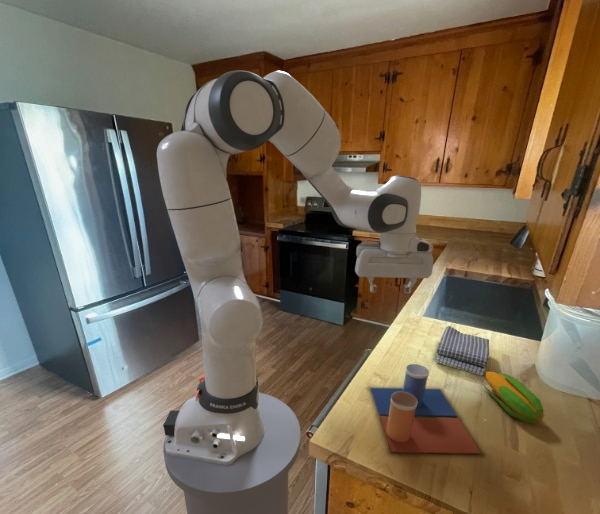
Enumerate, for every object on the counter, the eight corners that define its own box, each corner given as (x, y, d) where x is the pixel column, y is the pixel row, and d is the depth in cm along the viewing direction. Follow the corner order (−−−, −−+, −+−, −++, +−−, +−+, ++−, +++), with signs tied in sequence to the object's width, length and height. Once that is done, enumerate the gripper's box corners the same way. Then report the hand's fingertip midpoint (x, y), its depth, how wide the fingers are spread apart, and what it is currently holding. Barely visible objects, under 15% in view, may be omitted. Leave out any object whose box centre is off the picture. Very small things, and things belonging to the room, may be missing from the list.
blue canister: (404, 407, 87) (409, 376, 83) (398, 394, 92) (403, 363, 88) (425, 408, 87) (432, 376, 83) (418, 394, 92) (424, 363, 88)
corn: (531, 405, 77) (478, 360, 96) (520, 431, 80) (470, 382, 98) (558, 405, 78) (500, 360, 97) (546, 430, 81) (492, 382, 100)
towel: (432, 365, 107) (437, 344, 104) (440, 341, 122) (444, 322, 119) (485, 379, 100) (491, 357, 97) (486, 352, 115) (491, 332, 112)
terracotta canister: (389, 442, 76) (394, 407, 72) (383, 424, 81) (388, 391, 77) (414, 443, 76) (421, 408, 72) (406, 424, 81) (412, 391, 77)
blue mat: (379, 415, 84) (379, 414, 84) (370, 388, 95) (370, 388, 94) (456, 416, 85) (456, 415, 84) (439, 390, 95) (440, 389, 95)
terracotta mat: (391, 452, 73) (391, 451, 73) (380, 418, 83) (380, 417, 83) (480, 454, 73) (480, 453, 73) (458, 419, 84) (458, 418, 84)
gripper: (359, 243, 83) (354, 295, 88) (439, 245, 83) (430, 296, 88) (355, 239, 89) (351, 287, 94) (430, 240, 89) (422, 288, 94)
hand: (389, 291), depth 91 cm, fingers open, 8 cm apart
